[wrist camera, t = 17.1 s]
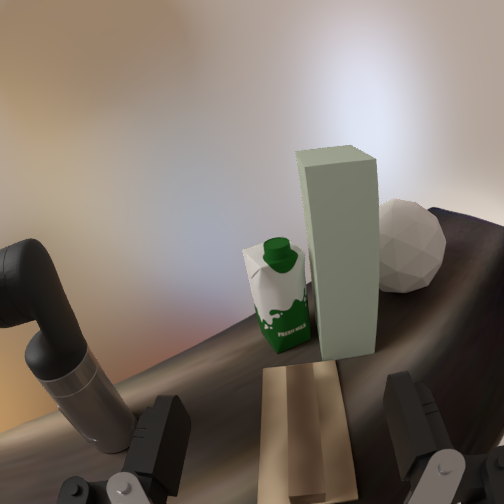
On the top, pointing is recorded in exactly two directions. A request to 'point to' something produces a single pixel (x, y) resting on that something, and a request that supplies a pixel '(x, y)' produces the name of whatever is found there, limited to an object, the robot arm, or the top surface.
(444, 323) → the top surface
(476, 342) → the top surface
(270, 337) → the milk carton
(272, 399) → the beige flat board
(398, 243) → the ball
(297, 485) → the walnut bar
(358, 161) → the sage stand
